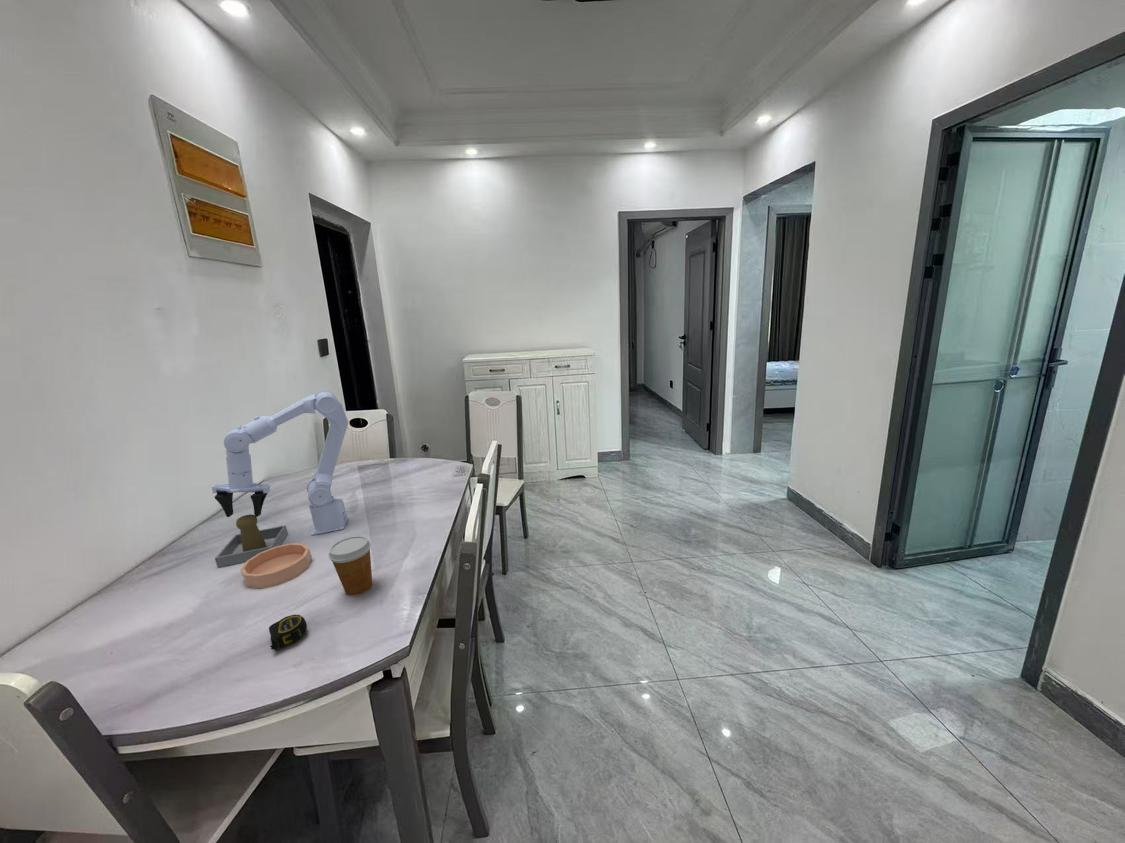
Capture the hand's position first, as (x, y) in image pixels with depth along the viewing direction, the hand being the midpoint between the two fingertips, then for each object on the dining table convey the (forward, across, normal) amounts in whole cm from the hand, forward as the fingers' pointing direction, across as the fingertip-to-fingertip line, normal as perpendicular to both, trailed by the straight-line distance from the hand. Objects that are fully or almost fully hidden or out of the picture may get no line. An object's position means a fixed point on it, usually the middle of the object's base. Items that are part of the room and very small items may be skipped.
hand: (243, 515), depth 134 cm
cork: (+11, +2, 0) cm, 11 cm away
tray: (+11, +2, 0) cm, 11 cm away
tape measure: (+10, +30, -44) cm, 55 cm away
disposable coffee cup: (+8, +40, -29) cm, 50 cm away
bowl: (+10, +15, -14) cm, 23 cm away
